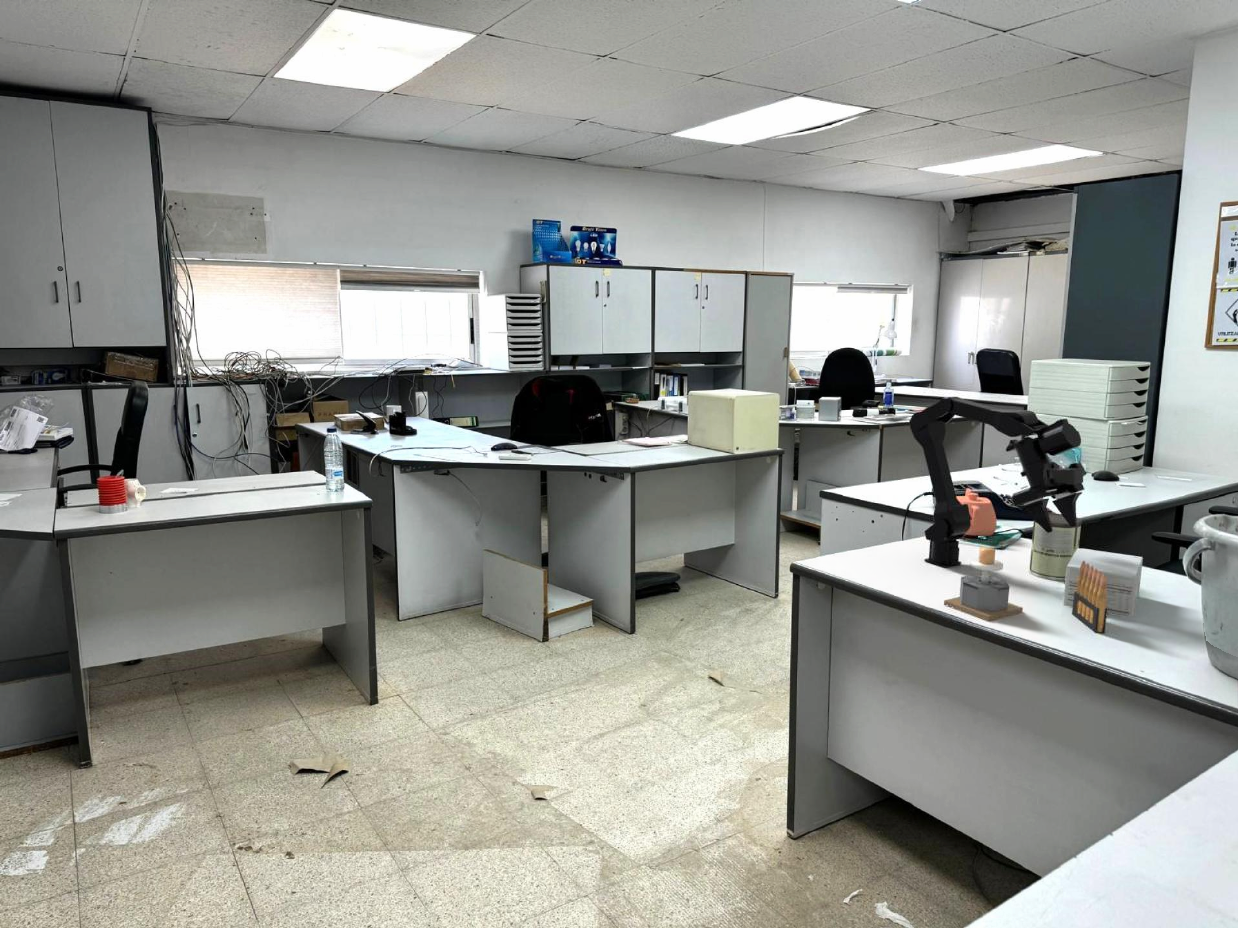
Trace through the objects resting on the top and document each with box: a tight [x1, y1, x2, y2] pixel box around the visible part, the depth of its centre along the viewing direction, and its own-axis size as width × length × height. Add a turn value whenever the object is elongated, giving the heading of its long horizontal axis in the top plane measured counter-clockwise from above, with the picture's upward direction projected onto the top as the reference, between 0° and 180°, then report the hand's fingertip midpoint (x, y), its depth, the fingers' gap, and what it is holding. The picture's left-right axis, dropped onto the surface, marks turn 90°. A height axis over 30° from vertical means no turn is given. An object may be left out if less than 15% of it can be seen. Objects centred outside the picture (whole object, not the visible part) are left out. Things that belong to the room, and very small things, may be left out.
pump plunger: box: [969, 546, 1004, 584], centre depth 174 cm, size 6×6×9 cm
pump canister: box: [943, 574, 1024, 622], centre depth 175 cm, size 11×11×6 cm
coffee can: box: [1028, 512, 1083, 581], centre depth 198 cm, size 10×10×14 cm
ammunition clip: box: [1071, 561, 1108, 634], centre depth 166 cm, size 11×2×12 cm, turn 174°
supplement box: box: [1063, 547, 1144, 618], centre depth 180 cm, size 17×13×9 cm
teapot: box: [956, 487, 997, 537], centre depth 235 cm, size 13×20×12 cm, turn 165°
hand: (1062, 529), depth 181 cm, fingers open, 9 cm apart
